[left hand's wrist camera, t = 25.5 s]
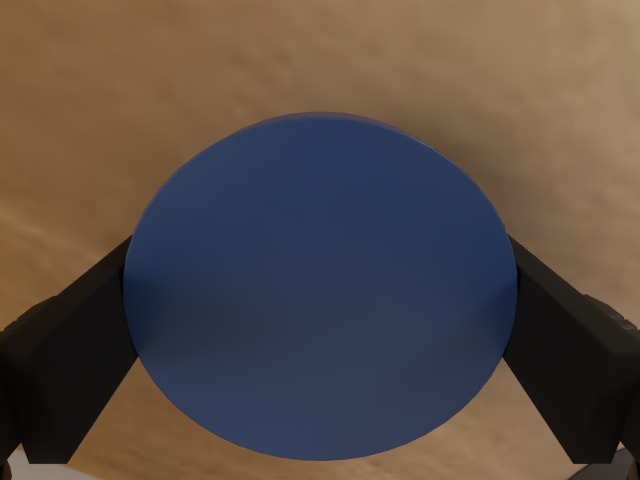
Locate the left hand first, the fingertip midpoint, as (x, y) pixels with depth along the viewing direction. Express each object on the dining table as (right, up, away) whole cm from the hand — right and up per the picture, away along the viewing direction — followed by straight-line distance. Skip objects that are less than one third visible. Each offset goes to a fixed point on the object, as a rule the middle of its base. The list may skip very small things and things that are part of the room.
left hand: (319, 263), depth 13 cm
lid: (0, -1, -3) cm, 3 cm away
